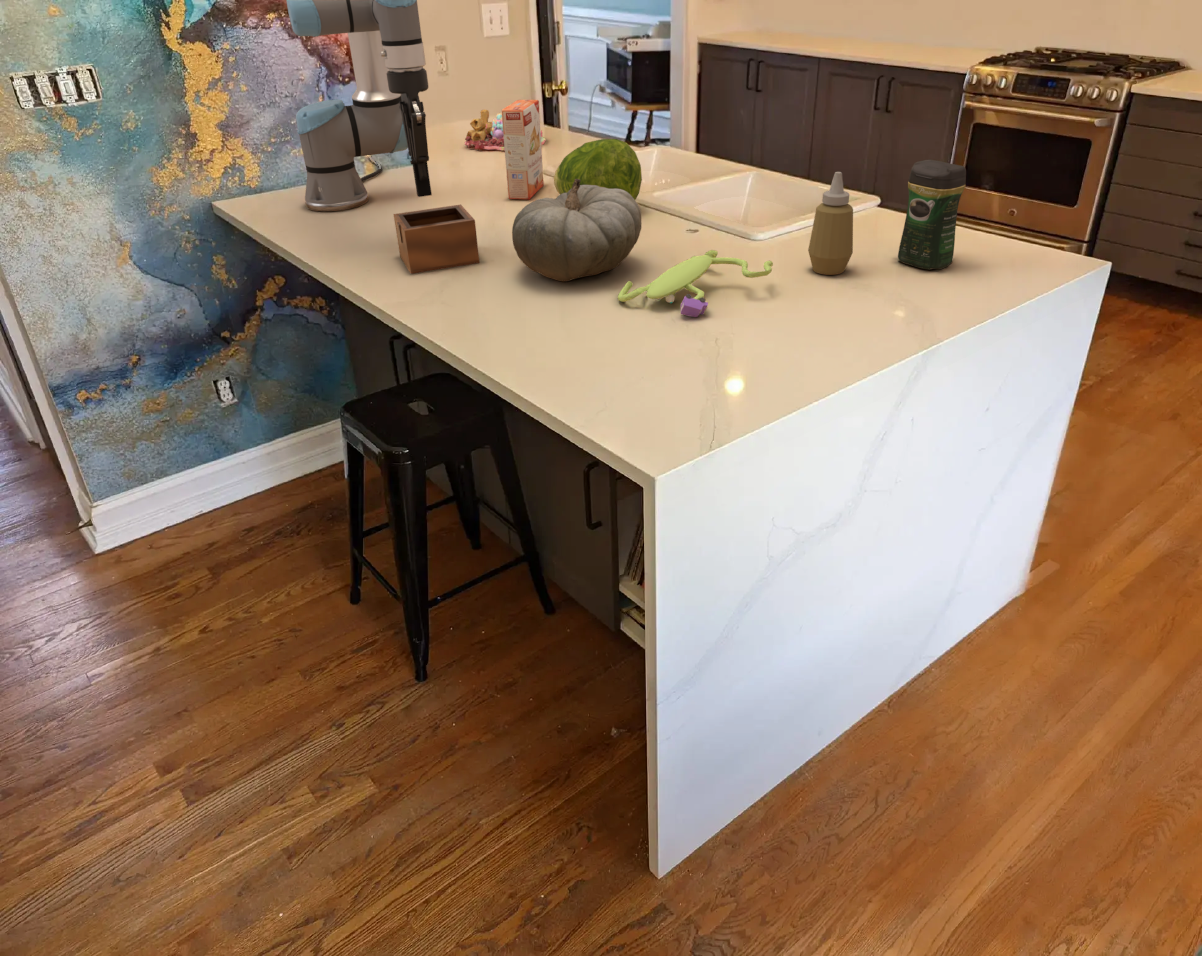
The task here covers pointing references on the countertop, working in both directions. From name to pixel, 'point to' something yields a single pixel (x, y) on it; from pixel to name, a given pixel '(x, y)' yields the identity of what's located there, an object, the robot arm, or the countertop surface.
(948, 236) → the coffee jar
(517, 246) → the gourd
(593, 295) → the countertop surface
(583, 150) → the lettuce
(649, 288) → the figurine
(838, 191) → the squeeze bottle
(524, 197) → the cracker box
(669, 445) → the countertop surface
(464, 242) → the wooden storage crate
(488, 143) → the coral reef ornament
